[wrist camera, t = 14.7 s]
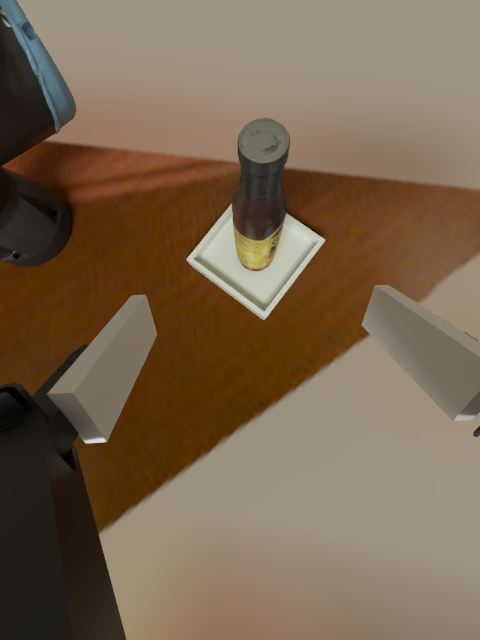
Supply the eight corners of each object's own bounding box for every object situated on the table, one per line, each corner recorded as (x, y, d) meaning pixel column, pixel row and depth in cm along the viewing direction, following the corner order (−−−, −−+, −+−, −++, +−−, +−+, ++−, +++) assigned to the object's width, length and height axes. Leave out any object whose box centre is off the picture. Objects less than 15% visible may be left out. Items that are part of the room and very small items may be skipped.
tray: (190, 265, 37) (186, 259, 35) (246, 195, 38) (246, 185, 35) (264, 320, 35) (265, 318, 33) (320, 246, 36) (325, 239, 34)
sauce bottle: (273, 273, 35) (306, 185, 16) (236, 272, 36) (221, 184, 16) (274, 235, 36) (307, 105, 16) (237, 235, 36) (225, 106, 16)
